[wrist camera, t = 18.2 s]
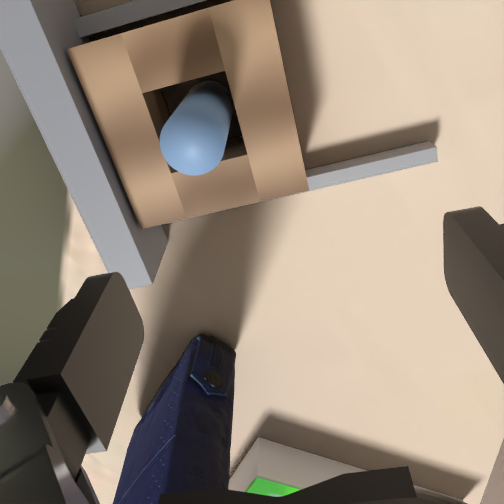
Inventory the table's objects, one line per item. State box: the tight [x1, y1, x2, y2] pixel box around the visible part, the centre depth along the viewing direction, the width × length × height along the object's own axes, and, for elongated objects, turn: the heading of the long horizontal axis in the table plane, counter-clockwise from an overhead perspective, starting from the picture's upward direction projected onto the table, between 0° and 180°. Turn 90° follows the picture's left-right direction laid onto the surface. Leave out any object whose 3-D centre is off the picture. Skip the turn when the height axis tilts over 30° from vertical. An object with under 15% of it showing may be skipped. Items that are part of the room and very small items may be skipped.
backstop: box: [0, 0, 438, 289], centre depth 27 cm, size 18×22×6 cm
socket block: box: [67, 0, 309, 229], centre depth 28 cm, size 11×11×4 cm
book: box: [113, 334, 236, 504], centre depth 34 cm, size 14×5×20 cm, turn 151°
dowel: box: [160, 81, 234, 175], centre depth 26 cm, size 3×3×9 cm
